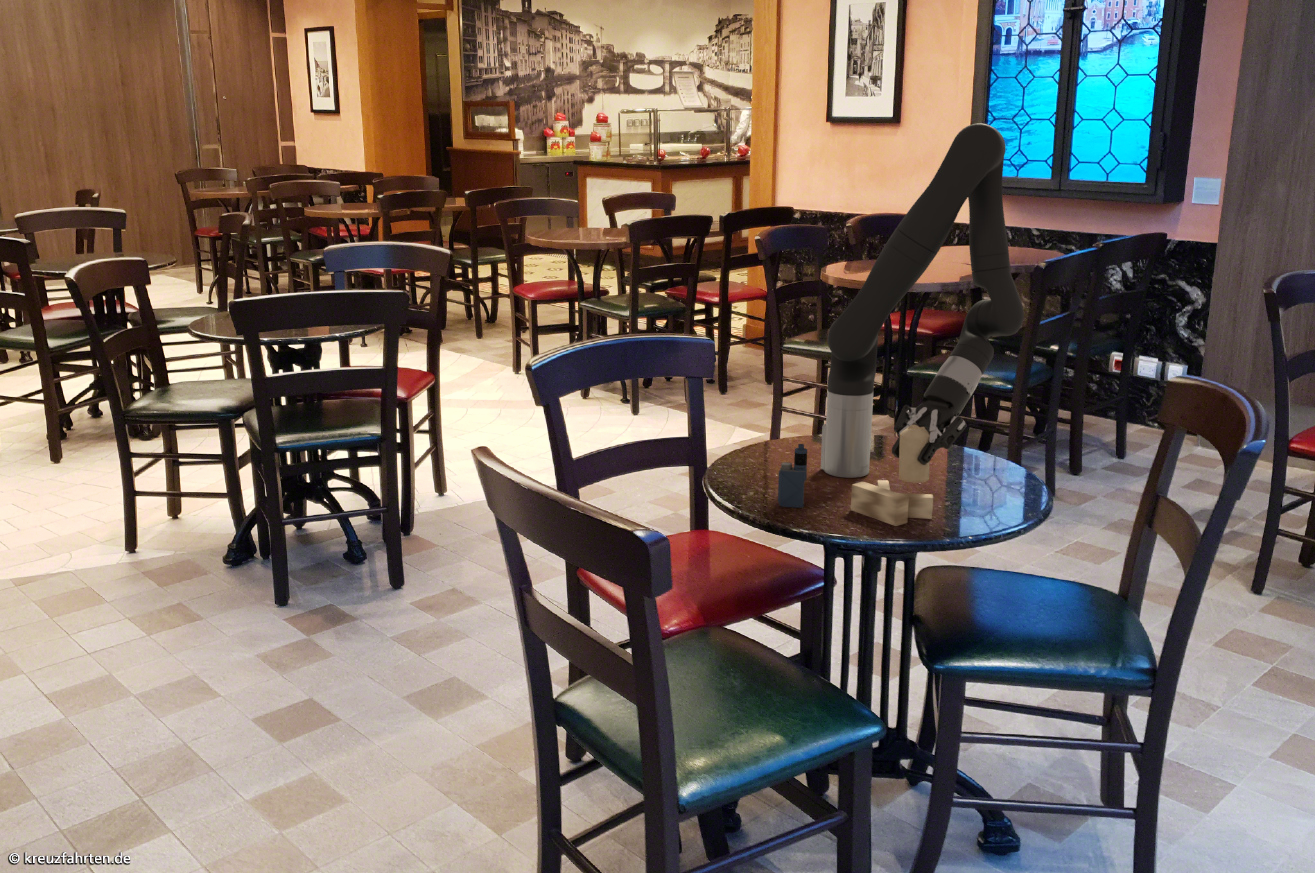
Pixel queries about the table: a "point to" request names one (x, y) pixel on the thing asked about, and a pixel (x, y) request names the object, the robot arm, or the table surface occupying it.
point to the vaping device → (793, 480)
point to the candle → (913, 454)
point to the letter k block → (889, 503)
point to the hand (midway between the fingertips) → (908, 458)
